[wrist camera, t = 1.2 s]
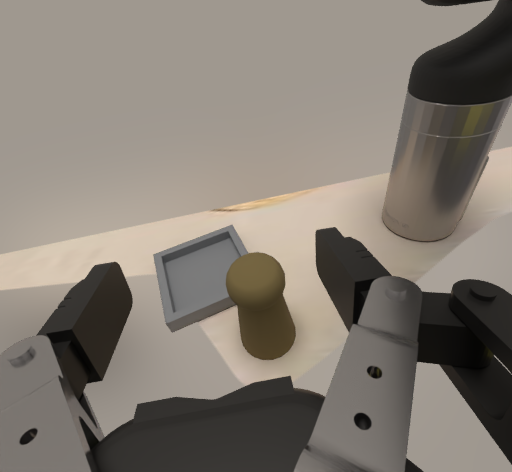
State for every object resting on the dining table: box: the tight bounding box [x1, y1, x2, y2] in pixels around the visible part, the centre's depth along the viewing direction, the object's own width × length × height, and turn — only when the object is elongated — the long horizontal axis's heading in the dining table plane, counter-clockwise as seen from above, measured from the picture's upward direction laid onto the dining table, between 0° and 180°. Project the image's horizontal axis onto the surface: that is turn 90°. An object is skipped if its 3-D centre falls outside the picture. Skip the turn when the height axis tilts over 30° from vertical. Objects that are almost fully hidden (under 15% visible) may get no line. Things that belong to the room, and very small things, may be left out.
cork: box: [226, 252, 296, 360], centre depth 27 cm, size 6×6×11 cm
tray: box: [154, 225, 248, 332], centre depth 37 cm, size 12×12×2 cm
